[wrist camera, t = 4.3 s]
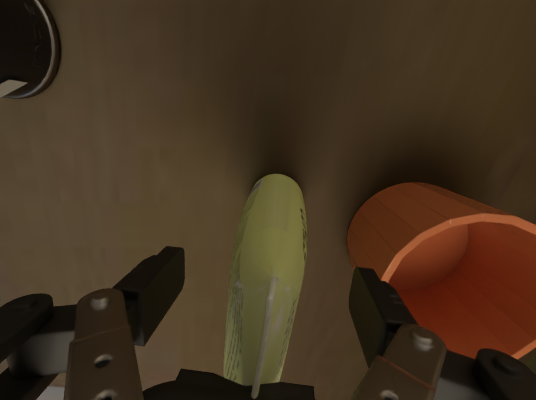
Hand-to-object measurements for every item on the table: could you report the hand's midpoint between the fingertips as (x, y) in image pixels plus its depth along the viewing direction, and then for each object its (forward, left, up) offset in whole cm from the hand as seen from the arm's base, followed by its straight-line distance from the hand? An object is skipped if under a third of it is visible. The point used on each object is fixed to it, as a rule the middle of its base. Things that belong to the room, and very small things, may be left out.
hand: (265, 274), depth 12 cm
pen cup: (+12, -2, -13) cm, 18 cm away
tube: (0, 0, -13) cm, 13 cm away
